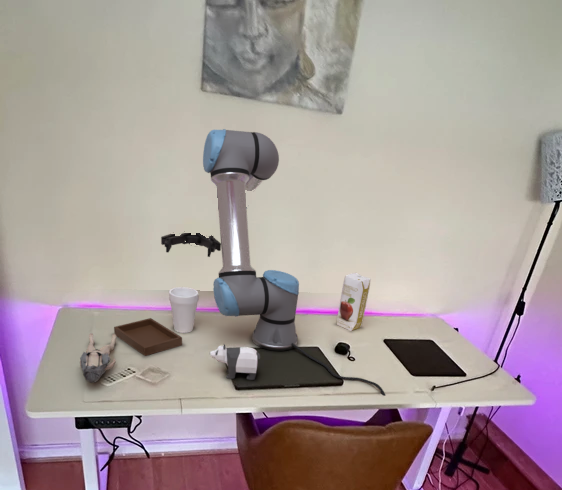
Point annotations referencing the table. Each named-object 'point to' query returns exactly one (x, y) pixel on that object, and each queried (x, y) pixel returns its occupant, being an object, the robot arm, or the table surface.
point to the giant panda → (237, 360)
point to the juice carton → (353, 301)
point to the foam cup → (183, 308)
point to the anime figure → (96, 360)
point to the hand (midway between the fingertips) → (188, 250)
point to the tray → (148, 336)
